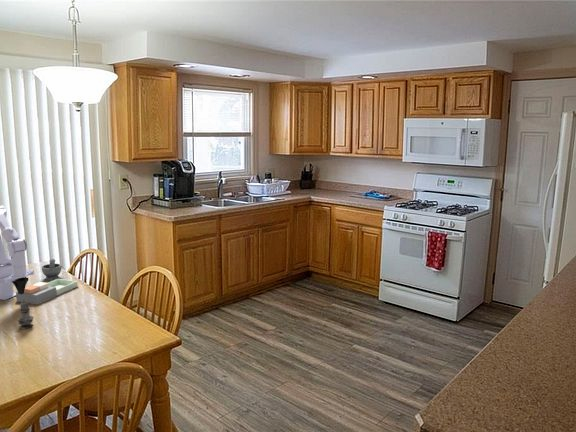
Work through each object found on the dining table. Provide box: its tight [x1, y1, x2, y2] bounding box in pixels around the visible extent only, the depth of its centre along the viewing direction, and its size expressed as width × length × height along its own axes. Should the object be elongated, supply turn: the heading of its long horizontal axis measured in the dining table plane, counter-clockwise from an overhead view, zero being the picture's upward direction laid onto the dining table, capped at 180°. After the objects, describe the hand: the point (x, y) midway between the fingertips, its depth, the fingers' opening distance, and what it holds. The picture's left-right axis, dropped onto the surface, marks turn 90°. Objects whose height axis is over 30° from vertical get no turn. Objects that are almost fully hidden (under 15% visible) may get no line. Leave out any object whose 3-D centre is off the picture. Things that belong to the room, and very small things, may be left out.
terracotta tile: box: [24, 285, 40, 294], centre depth 223 cm, size 5×5×2 cm
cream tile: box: [31, 281, 49, 290], centre depth 229 cm, size 5×5×2 cm
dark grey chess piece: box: [17, 300, 34, 330], centre depth 195 cm, size 6×6×12 cm
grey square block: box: [15, 286, 57, 305], centre depth 227 cm, size 12×12×4 cm
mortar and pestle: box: [41, 258, 62, 281], centre depth 256 cm, size 11×9×12 cm
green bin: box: [47, 278, 79, 297], centre depth 240 cm, size 12×14×3 cm
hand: (21, 293), depth 218 cm, fingers closed
